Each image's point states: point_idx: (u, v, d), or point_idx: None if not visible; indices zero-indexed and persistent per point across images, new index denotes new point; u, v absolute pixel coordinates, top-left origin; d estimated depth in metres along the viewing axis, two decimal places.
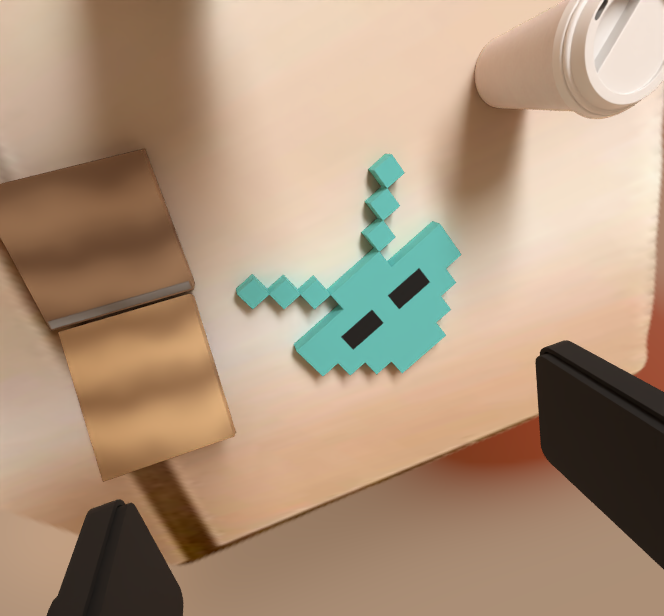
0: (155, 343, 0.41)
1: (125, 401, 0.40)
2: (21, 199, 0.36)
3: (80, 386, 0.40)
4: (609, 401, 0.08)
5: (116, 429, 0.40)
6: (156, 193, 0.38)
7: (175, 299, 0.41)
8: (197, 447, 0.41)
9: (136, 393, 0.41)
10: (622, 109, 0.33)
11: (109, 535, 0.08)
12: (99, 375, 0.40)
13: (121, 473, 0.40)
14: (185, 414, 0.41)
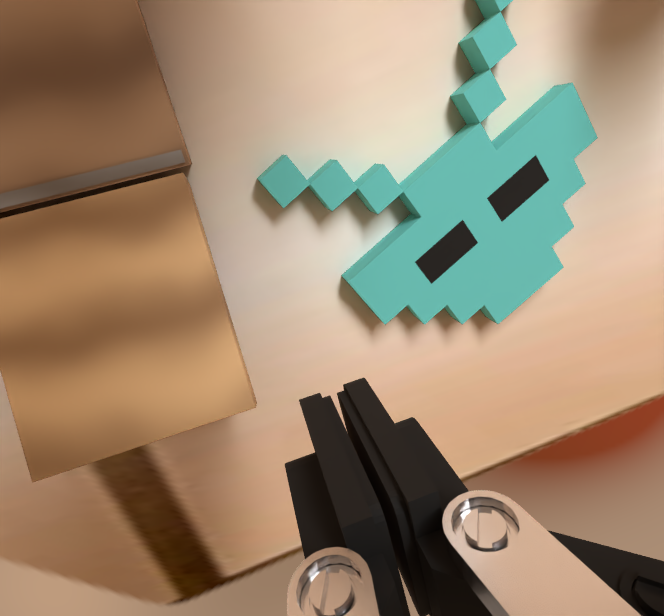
0: (125, 251, 0.25)
1: (73, 346, 0.24)
2: None
3: None
4: (363, 442, 0.09)
5: (57, 393, 0.24)
6: None
7: (159, 181, 0.25)
8: (194, 425, 0.24)
9: (91, 333, 0.24)
10: None
11: (328, 413, 0.09)
12: (29, 302, 0.24)
13: (64, 468, 0.23)
14: (174, 370, 0.24)
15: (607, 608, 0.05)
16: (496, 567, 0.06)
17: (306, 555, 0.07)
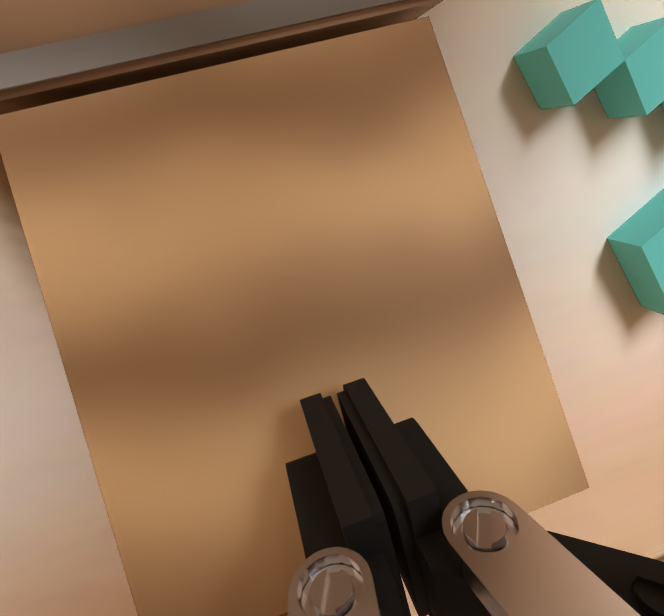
0: (326, 170, 0.12)
1: (230, 367, 0.11)
2: None
3: (70, 312, 0.11)
4: (363, 442, 0.09)
5: (200, 468, 0.11)
6: None
7: (385, 31, 0.13)
8: None
9: (265, 340, 0.11)
10: None
11: (329, 413, 0.09)
12: (137, 274, 0.11)
13: None
14: (432, 413, 0.12)
15: (607, 609, 0.05)
16: (495, 567, 0.06)
17: (307, 555, 0.07)
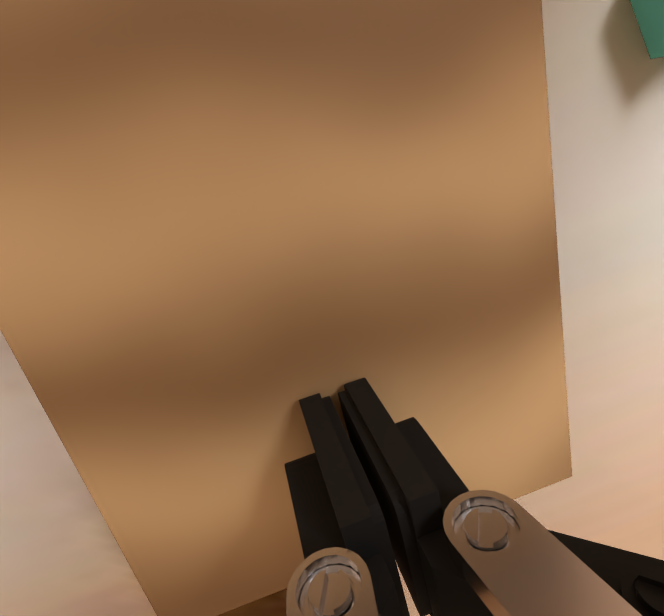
0: (361, 145, 0.09)
1: (235, 386, 0.10)
2: None
3: (31, 330, 0.09)
4: None
5: (204, 483, 0.10)
6: None
7: None
8: None
9: (276, 356, 0.10)
10: None
11: (328, 413, 0.09)
12: (115, 281, 0.09)
13: (229, 606, 0.12)
14: (445, 422, 0.12)
15: (608, 607, 0.05)
16: (497, 566, 0.06)
17: (305, 555, 0.07)
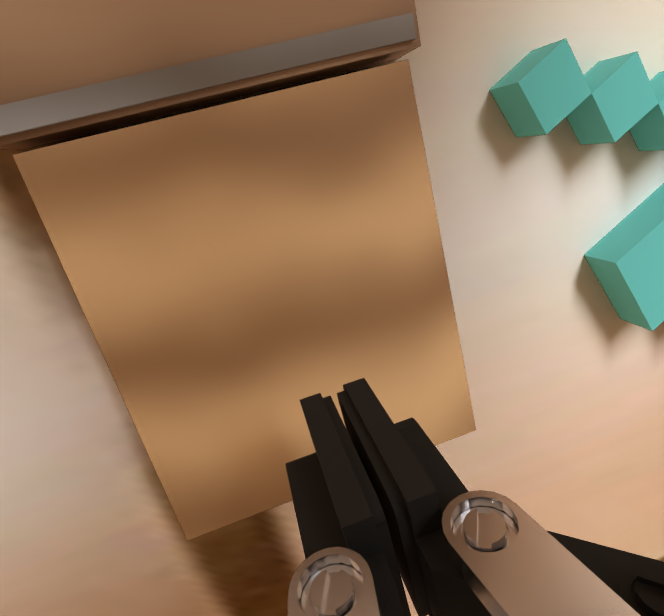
0: (310, 206, 0.15)
1: (233, 360, 0.15)
2: None
3: (107, 323, 0.14)
4: (363, 442, 0.09)
5: (213, 427, 0.16)
6: None
7: (368, 74, 0.14)
8: None
9: (260, 340, 0.15)
10: None
11: (329, 413, 0.09)
12: (158, 292, 0.14)
13: (230, 520, 0.17)
14: (377, 387, 0.17)
15: (607, 608, 0.05)
16: (496, 568, 0.06)
17: (307, 555, 0.07)
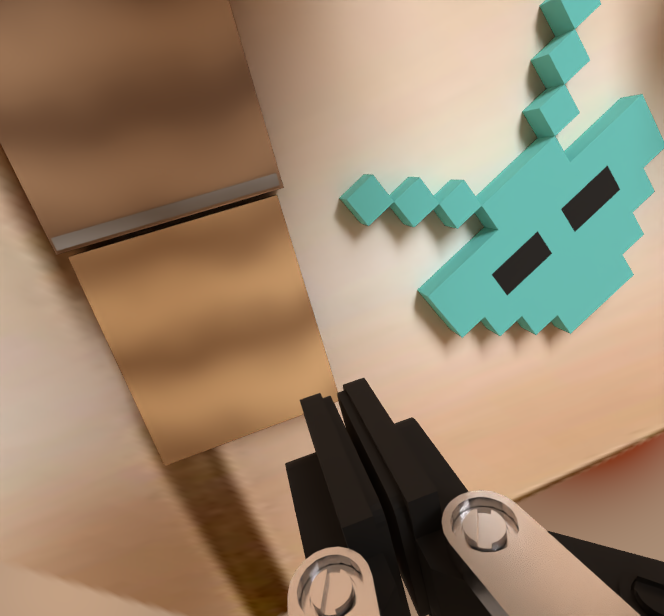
0: (226, 274, 0.26)
1: (187, 360, 0.27)
2: (4, 9, 0.21)
3: (116, 341, 0.26)
4: (363, 442, 0.09)
5: (177, 398, 0.28)
6: (230, 12, 0.23)
7: (255, 204, 0.26)
8: (291, 416, 0.30)
9: (202, 348, 0.27)
10: None
11: (329, 413, 0.09)
12: (144, 323, 0.26)
13: (189, 454, 0.29)
14: (274, 374, 0.29)
15: (607, 609, 0.05)
16: (495, 567, 0.06)
17: (307, 555, 0.07)
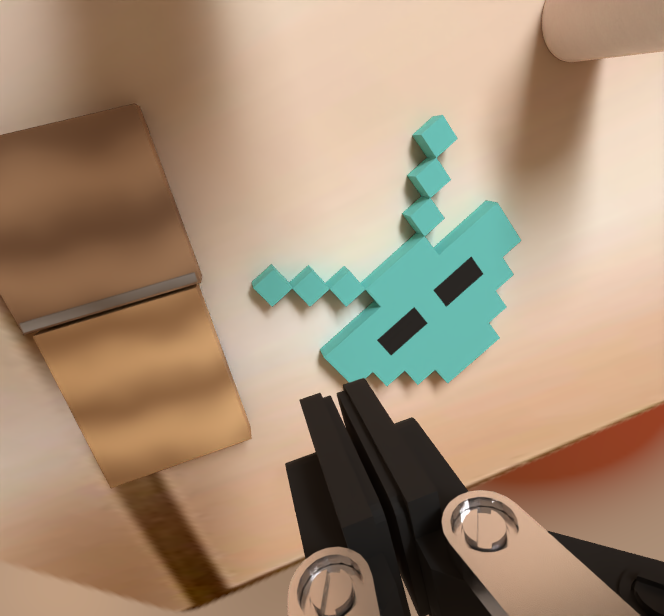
0: (157, 346, 0.34)
1: (127, 409, 0.35)
2: None
3: (71, 396, 0.34)
4: (363, 442, 0.09)
5: (119, 438, 0.36)
6: (154, 161, 0.30)
7: (178, 295, 0.34)
8: (212, 450, 0.38)
9: (138, 401, 0.35)
10: None
11: (329, 413, 0.09)
12: (92, 383, 0.34)
13: (130, 479, 0.37)
14: (197, 420, 0.37)
15: (607, 608, 0.05)
16: (495, 567, 0.06)
17: (307, 555, 0.07)
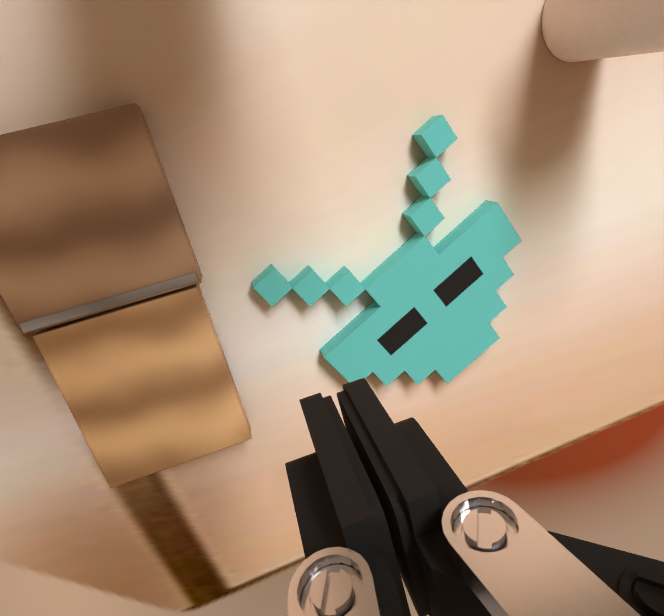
0: (157, 346, 0.34)
1: (127, 409, 0.35)
2: None
3: (71, 396, 0.34)
4: (363, 442, 0.09)
5: (119, 438, 0.36)
6: (154, 161, 0.30)
7: (178, 295, 0.34)
8: (212, 450, 0.38)
9: (138, 401, 0.35)
10: None
11: (329, 413, 0.09)
12: (92, 383, 0.34)
13: (130, 479, 0.37)
14: (197, 419, 0.37)
15: (607, 609, 0.05)
16: (495, 567, 0.06)
17: (307, 555, 0.07)
